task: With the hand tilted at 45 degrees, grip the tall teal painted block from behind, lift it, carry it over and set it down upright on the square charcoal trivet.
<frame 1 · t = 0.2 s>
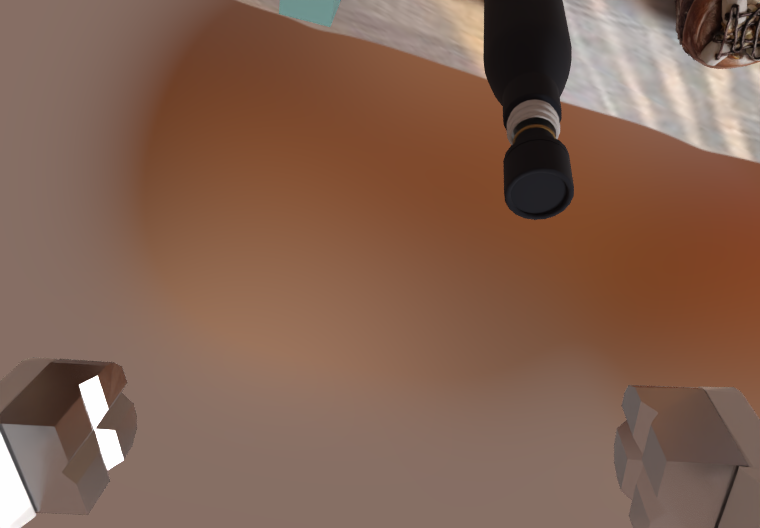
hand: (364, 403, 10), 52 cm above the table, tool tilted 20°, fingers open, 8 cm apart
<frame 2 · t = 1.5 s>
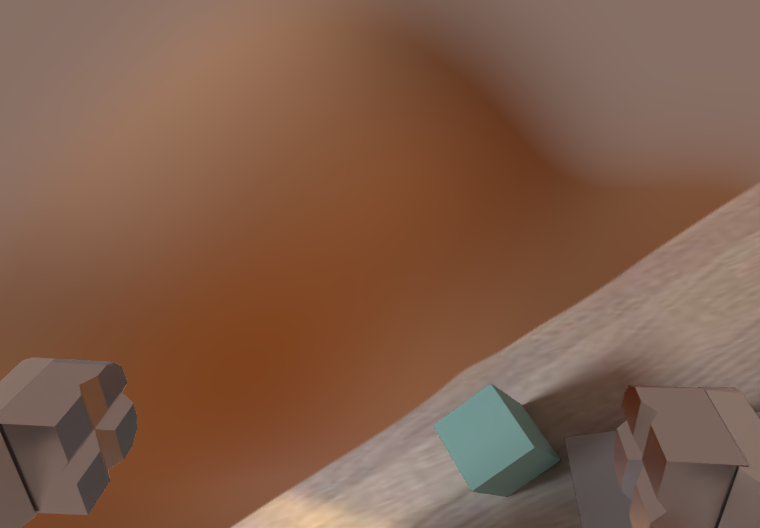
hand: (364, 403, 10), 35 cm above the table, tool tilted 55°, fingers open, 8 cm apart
teal block: (515, 450, 42), on the table
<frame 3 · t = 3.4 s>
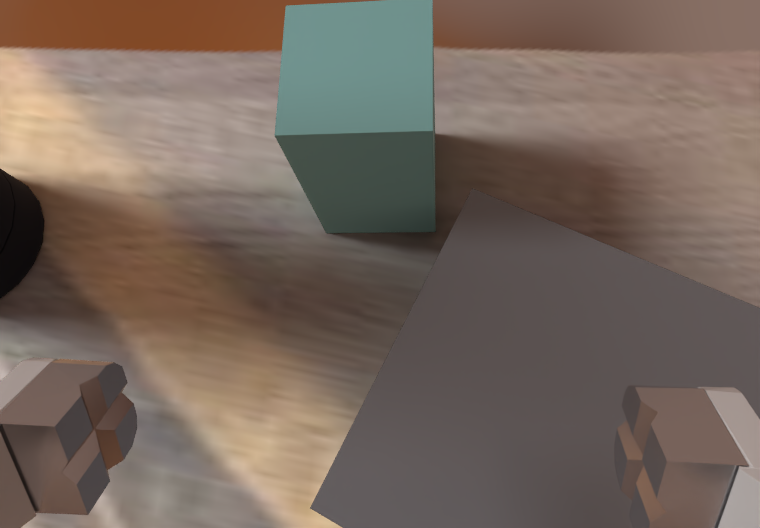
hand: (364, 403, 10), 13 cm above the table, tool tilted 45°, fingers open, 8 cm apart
trivet: (550, 425, 21), on the table
teal block: (381, 182, 25), on the table
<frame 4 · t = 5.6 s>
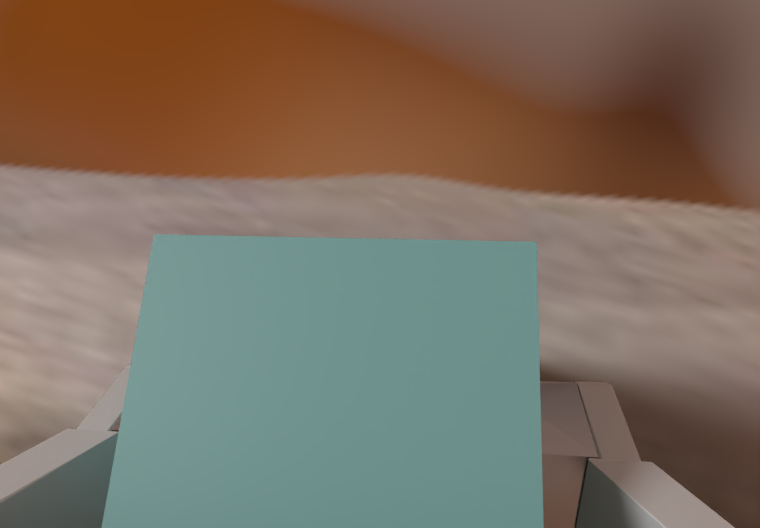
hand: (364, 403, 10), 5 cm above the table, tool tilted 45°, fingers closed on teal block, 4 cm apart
teal block: (386, 445, 14), on the table, touching gripper
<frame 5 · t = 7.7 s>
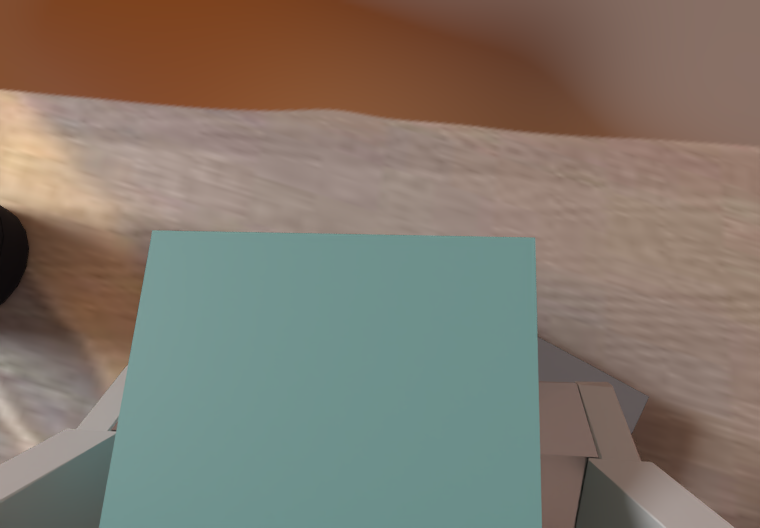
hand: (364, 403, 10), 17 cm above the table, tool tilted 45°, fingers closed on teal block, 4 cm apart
trivet: (435, 452, 26), on the table
teal block: (386, 443, 14), point 13 cm above the table, touching gripper
when the fingers open (9 cm above the table, at t = 9.8 s): teal block drops 1 cm, resting on trivet.
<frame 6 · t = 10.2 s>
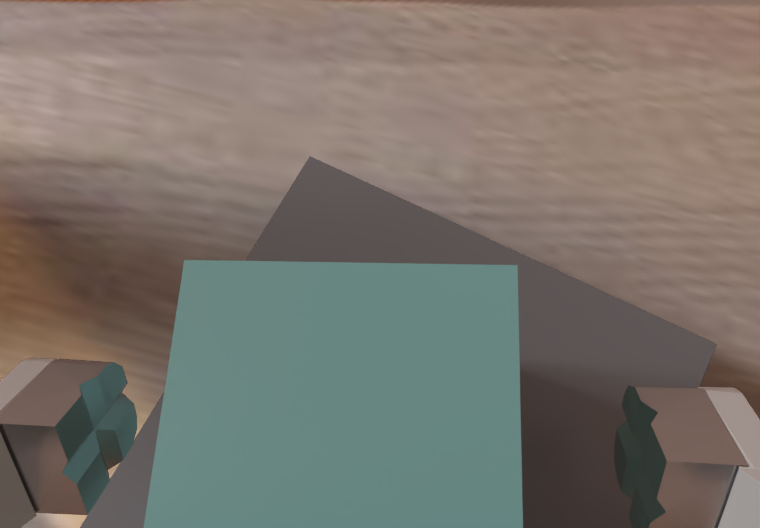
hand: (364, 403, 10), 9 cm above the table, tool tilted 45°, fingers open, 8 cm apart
trivet: (400, 444, 18), on the table
teal block: (389, 442, 15), point 3 cm above the table, touching trivet
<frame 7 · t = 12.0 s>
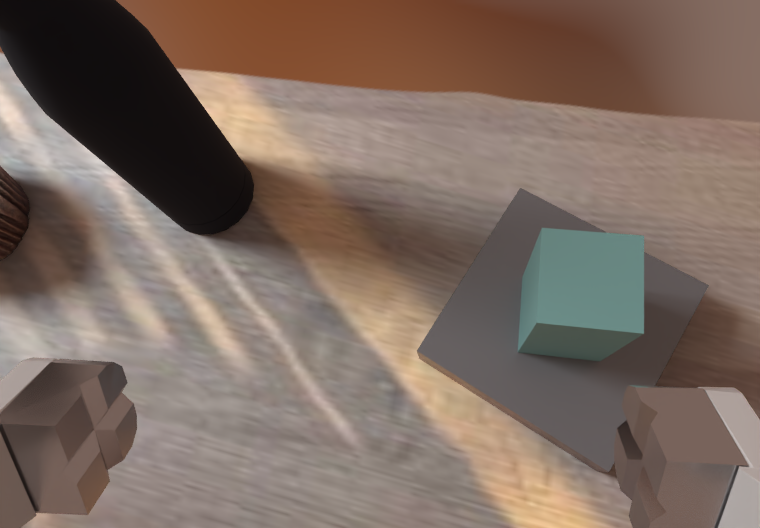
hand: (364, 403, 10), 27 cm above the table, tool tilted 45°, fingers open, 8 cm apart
trivet: (552, 329, 37), on the table
teal block: (560, 317, 34), point 3 cm above the table, touching trivet
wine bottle: (212, 194, 43), on the table
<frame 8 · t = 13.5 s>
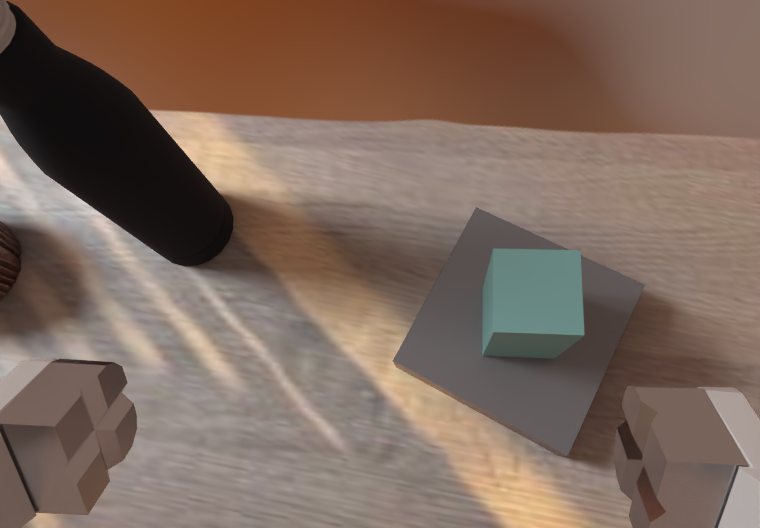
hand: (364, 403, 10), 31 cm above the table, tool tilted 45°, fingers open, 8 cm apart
trivet: (513, 331, 41), on the table
teal block: (517, 322, 38), point 3 cm above the table, touching trivet
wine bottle: (194, 227, 46), on the table
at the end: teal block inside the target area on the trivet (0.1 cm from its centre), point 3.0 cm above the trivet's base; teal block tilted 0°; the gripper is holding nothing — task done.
